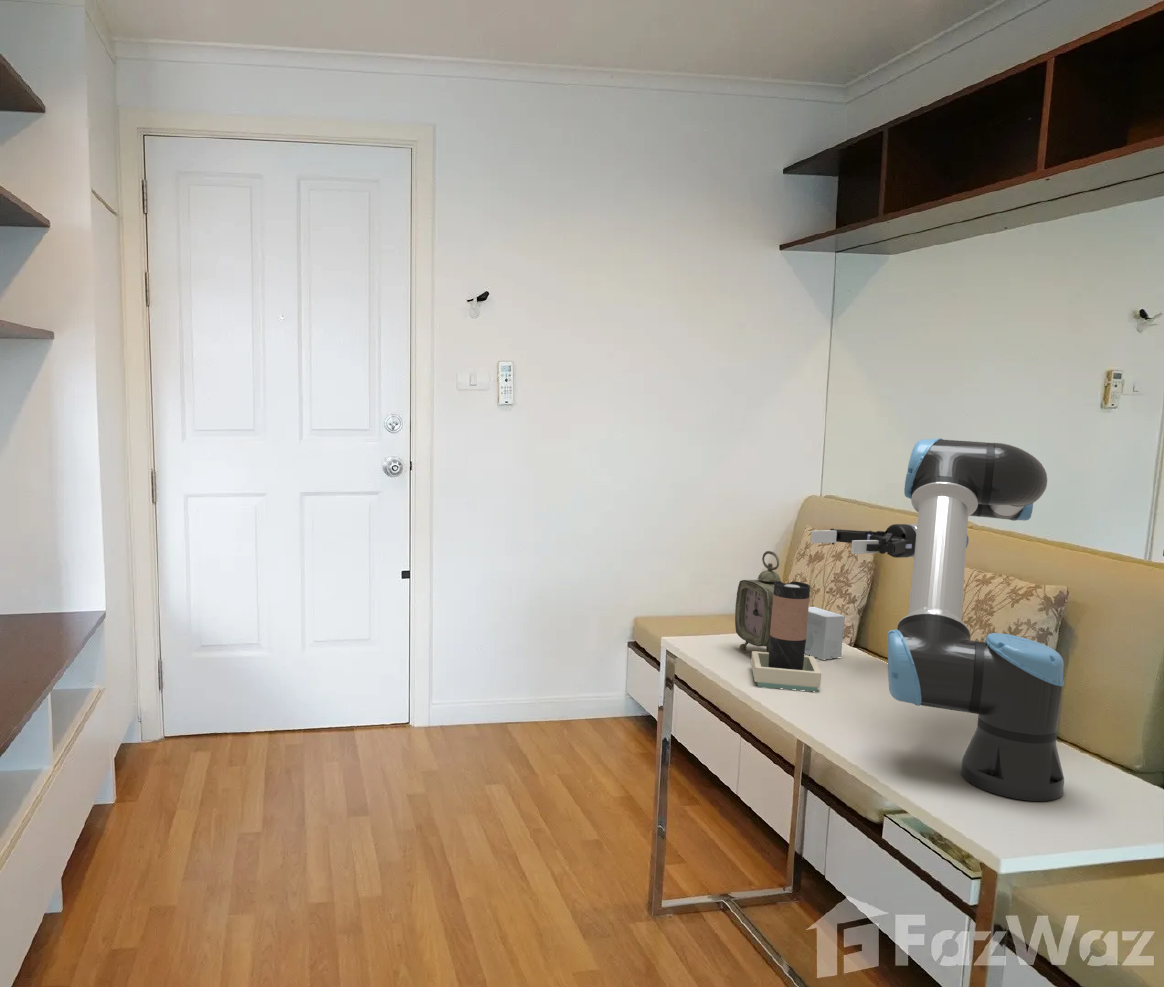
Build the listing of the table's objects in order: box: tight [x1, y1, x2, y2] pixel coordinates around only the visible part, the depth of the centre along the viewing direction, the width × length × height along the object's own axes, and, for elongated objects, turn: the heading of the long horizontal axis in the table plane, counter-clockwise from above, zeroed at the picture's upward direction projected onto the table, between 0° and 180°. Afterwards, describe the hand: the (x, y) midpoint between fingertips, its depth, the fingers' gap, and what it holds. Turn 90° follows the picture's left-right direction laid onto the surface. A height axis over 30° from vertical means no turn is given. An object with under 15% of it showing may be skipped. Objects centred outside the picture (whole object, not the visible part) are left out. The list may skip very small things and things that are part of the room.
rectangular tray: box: [750, 650, 822, 693], centre depth 204 cm, size 18×13×4 cm
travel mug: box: [768, 580, 811, 670], centre depth 202 cm, size 8×8×20 cm
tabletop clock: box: [734, 550, 782, 652], centre depth 220 cm, size 14×9×25 cm, turn 20°
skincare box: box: [804, 606, 846, 661], centre depth 226 cm, size 10×6×10 cm, turn 29°
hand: (831, 541), depth 204 cm, fingers open, 13 cm apart
